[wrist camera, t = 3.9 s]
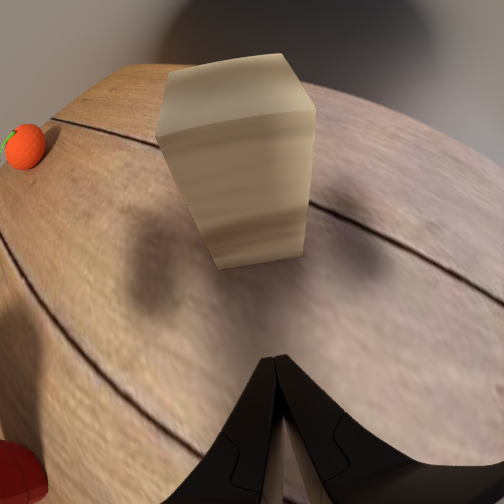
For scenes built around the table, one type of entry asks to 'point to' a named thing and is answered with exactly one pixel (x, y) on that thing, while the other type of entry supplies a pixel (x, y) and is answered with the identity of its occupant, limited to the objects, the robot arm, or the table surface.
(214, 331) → the table surface
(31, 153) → the clementine
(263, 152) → the block
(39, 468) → the plastic cup
